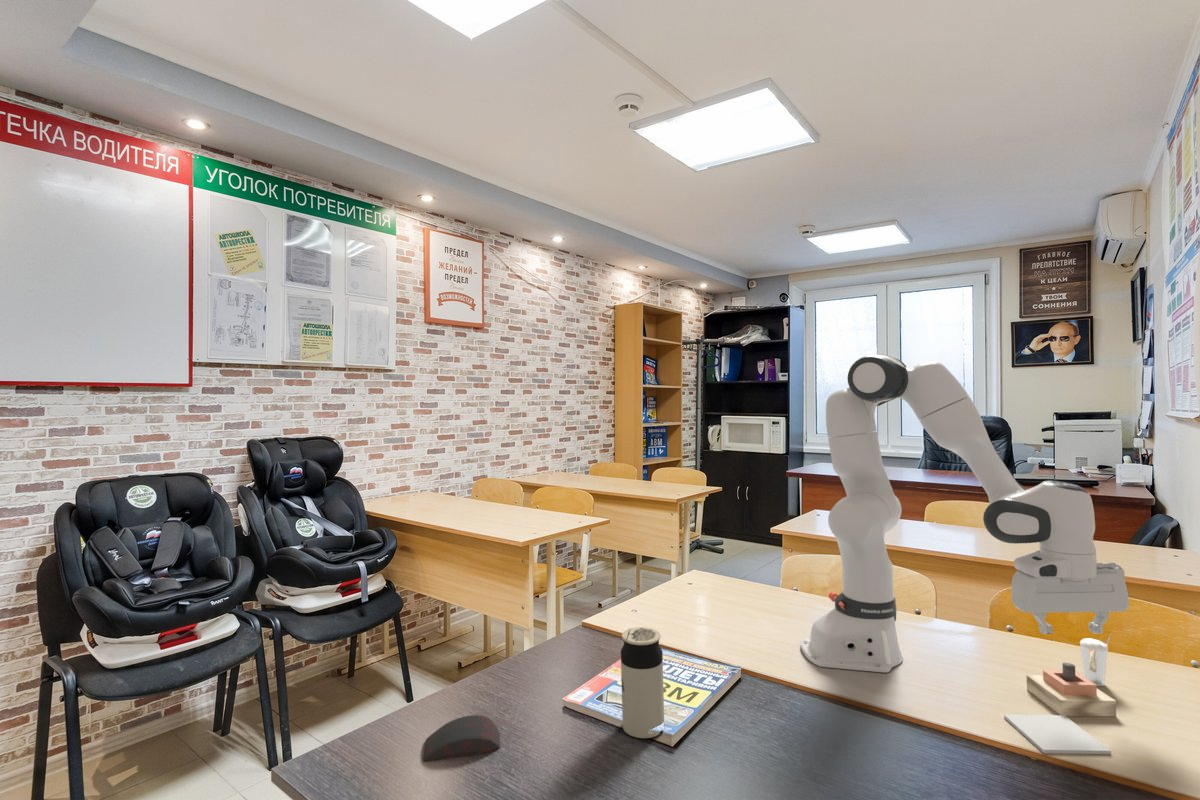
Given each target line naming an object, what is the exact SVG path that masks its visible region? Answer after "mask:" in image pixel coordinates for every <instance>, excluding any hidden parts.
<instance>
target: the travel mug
mask: <svg viewBox="0 0 1200 800" xmlns="http://www.w3.org/2000/svg"><path fill="white" fill-rule="evenodd" d="M661 637H662V636H661V633H660V632H659V631H658V630H657V629H654V628H652V627H647V626H639V627H638V626H637V627H636V626H635V627H631V628H627V629H626V630H623V632H622V633H621V639H622V640H623V641H622V642H623V645H622V647H621V650H620V673H621V674H620V675H621V676H620V677H621V704H622V705H621V708H622V709H621V710H622V711H621V712H622V717H621V718H622V729H623V731H624V732H625V733H626V734H627V735H629V736H631V737H633V738H634V737H635V738H637V739H650V738H654V737H657V736H659V735H660V734H656V733H653V734H649V733H648V731H649V730H650V729H653V728H655V727H657V726H659V725H661V724H662V723H663V722H664V723H665V703H664V702H665V699H664V694H665V693H664V659H663V658H664V657H663V656H664V655H663V650H662V647H661V645H660V639H661Z"/></svg>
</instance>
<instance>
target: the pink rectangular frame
mask: <svg viewBox="0 0 1200 800" xmlns="http://www.w3.org/2000/svg"><path fill="white" fill-rule="evenodd" d="M1042 675H1043V680H1044V681H1045V682H1047V683H1048V684H1050V685H1051V686H1052V687H1054V688H1055V689H1057V690H1058V691H1059V692H1061V693H1062V694H1064V695H1097V689H1098V688H1097V687H1098V686H1097V685H1096V684H1094V683H1093V682H1091V681H1090V680H1088V679H1086V678H1085V677H1084V675H1082V674H1081V673H1079V672H1077V671H1076V670H1075V680H1076V682H1066V681H1064V680H1063V669H1062V670H1059V669H1058V670H1057V669H1054V670H1053V669H1051V670H1050V669H1046V670H1045V669H1044V670H1043V669H1042Z"/></svg>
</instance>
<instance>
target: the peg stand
mask: <svg viewBox="0 0 1200 800" xmlns="http://www.w3.org/2000/svg"><path fill="white" fill-rule="evenodd" d="M1061 666H1062V670H1063V680H1064V681H1066V682H1076V680H1075V671H1076V665H1075V664H1072V663H1071V662H1070V663H1069V662H1062V665H1061ZM1026 690H1027V691H1028V692H1029V693H1031V694H1032V695H1034V697H1036V698H1037V699H1039V700H1040V701H1041V702H1042V703H1044V704H1045V705H1046V706H1048V707H1049V708H1050V709H1052V710H1053V711H1054V712H1056V713H1057V714H1058V715H1063V716H1066V717H1117V700H1116V699H1114V698H1112V697H1111V696H1110V695H1108V694H1107V693H1105V692H1103V691H1102V690H1100V689H1098V688H1097V695H1064V694H1062V693H1061V692H1059V691H1058V690H1057V689H1055V688H1054V687H1052V686H1051V685H1050V684H1048V683H1047V682H1045V681H1044V680H1043V674H1041V675H1040V674H1039V675H1038V674H1026Z"/></svg>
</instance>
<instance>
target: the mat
mask: <svg viewBox="0 0 1200 800" xmlns="http://www.w3.org/2000/svg"><path fill="white" fill-rule="evenodd" d="M1003 718H1004V719H1005V720H1006V721H1007V722H1008V723H1009V724H1010V725H1012V727H1014V728H1015V729H1016V730H1017V731H1018V732H1019V733H1020V734H1022V736H1023V737H1025V739H1027V740H1028V741H1029V742H1030V743H1032V744H1033V746H1035V747H1036V748H1037V749H1038V750H1039V751H1041V752H1042V753H1043V754H1062V755H1063V754H1069V755H1070V754H1071V755H1072V754H1073V755H1074V754H1075V755H1111V754H1112V751H1111V750H1110V749H1109V748H1108V747H1106V746H1105V745H1104V744H1103V743H1101V742H1100V741H1099V740H1097V739H1096V738H1095V737H1093V736H1092V735H1091V734H1089V733H1088V732H1087V731H1085V730H1084V729H1083V728H1082V727H1080V726H1079V725H1078V724H1077V723H1075V722H1074V721H1072V719H1070V718H1068V716H1063V715H1059V714H1058V715H1057V714H1056V715H1055V714H1054V715H1052V714H1050V715H1045V714H1044V715H1043V714H1042V715H1041V714H1039V715H1038V714H1004V715H1003Z"/></svg>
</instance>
